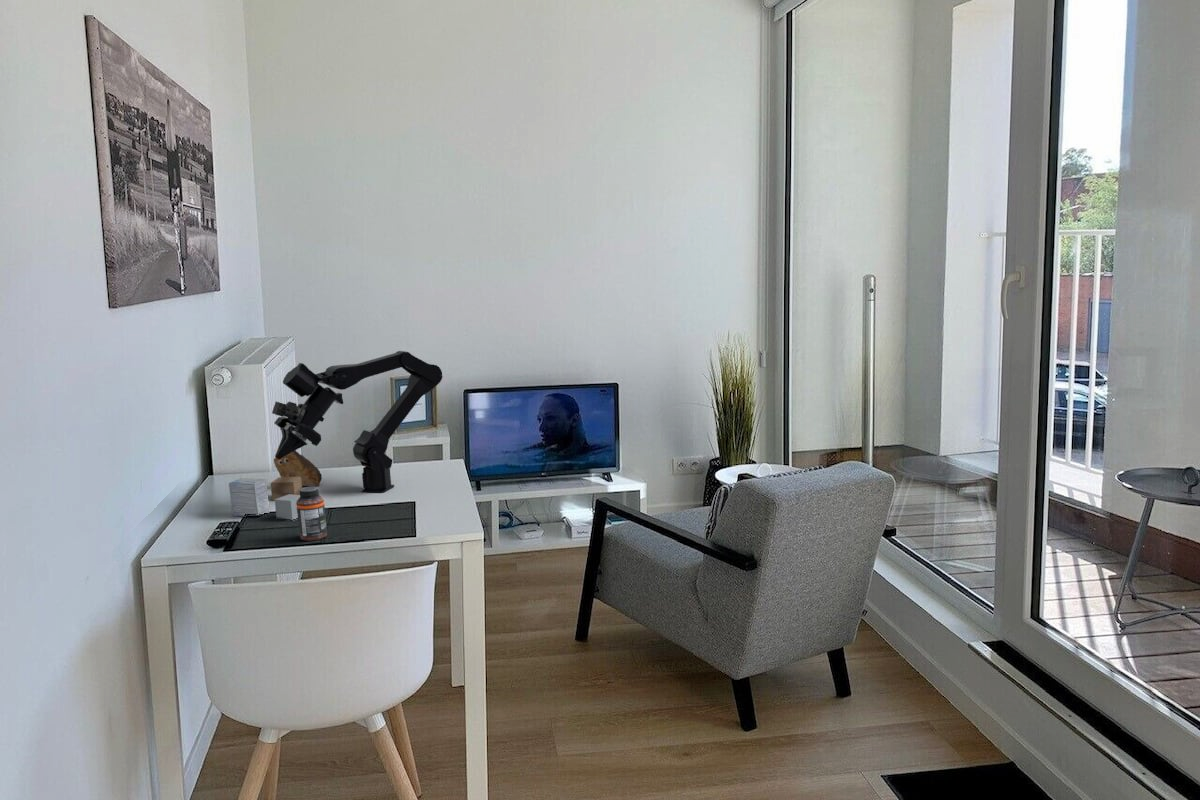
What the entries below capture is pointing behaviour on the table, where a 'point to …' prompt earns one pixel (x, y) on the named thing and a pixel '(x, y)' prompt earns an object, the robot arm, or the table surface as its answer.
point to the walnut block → (285, 486)
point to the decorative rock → (298, 469)
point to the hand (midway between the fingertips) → (276, 458)
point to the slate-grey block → (287, 506)
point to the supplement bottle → (311, 514)
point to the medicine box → (249, 496)
